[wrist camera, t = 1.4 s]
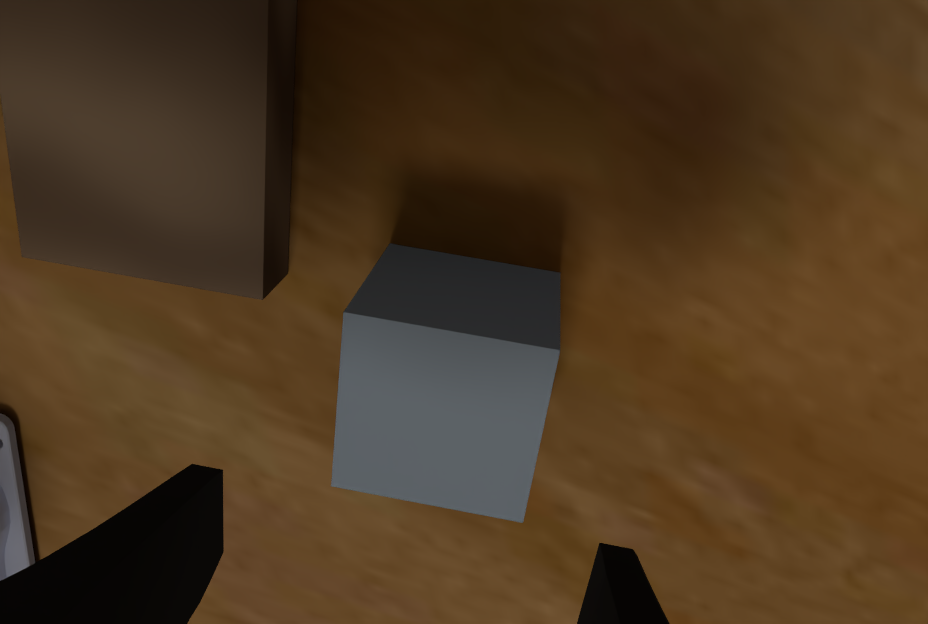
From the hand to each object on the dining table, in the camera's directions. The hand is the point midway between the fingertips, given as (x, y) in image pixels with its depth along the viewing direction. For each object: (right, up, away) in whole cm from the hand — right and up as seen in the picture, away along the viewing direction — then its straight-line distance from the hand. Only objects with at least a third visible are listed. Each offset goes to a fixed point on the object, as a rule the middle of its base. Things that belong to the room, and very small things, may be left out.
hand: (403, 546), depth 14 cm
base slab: (-7, +12, +5) cm, 15 cm away
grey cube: (+1, +4, +8) cm, 9 cm away
